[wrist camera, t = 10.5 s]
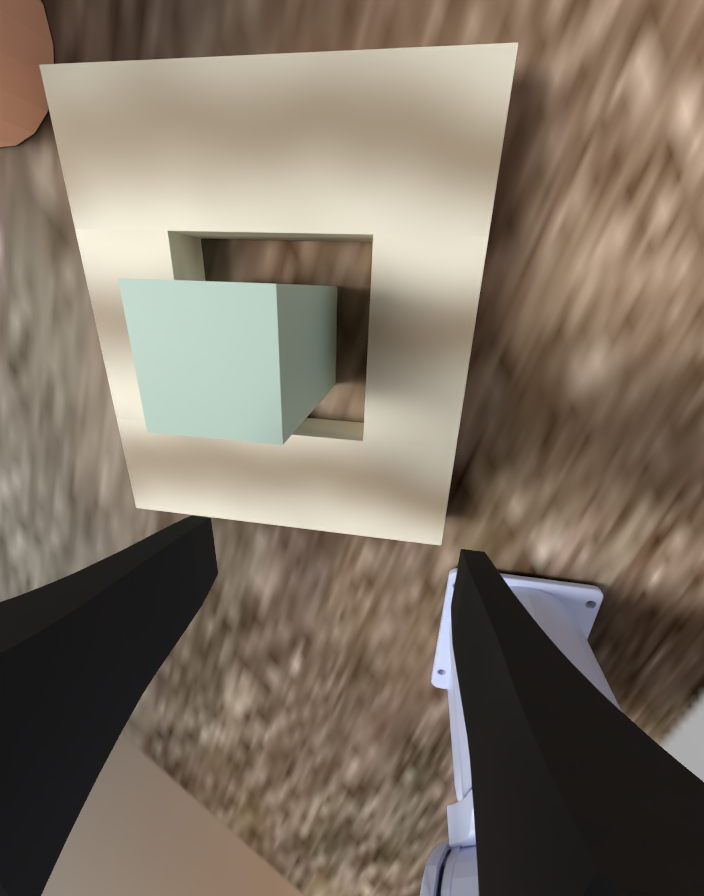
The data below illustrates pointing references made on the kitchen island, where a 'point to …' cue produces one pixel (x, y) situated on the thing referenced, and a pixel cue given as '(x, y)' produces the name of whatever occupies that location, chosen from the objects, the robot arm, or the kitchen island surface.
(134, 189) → the board with square hole
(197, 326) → the peg
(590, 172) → the kitchen island surface
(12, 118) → the salt shaker
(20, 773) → the robot arm
